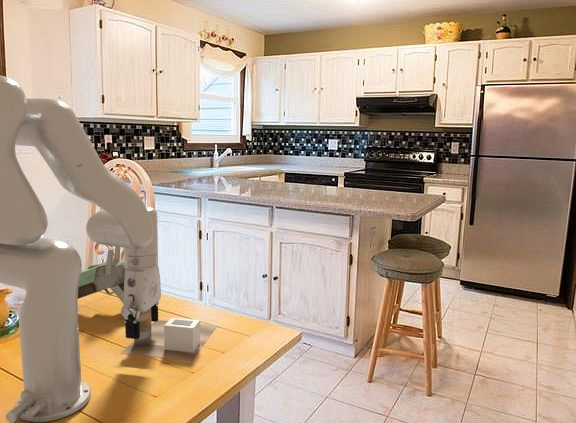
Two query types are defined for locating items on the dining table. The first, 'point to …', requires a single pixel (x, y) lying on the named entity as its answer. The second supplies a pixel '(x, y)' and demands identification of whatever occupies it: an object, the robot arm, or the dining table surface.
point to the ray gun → (104, 277)
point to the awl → (144, 328)
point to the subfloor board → (157, 344)
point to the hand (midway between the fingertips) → (142, 329)
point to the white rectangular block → (182, 334)
